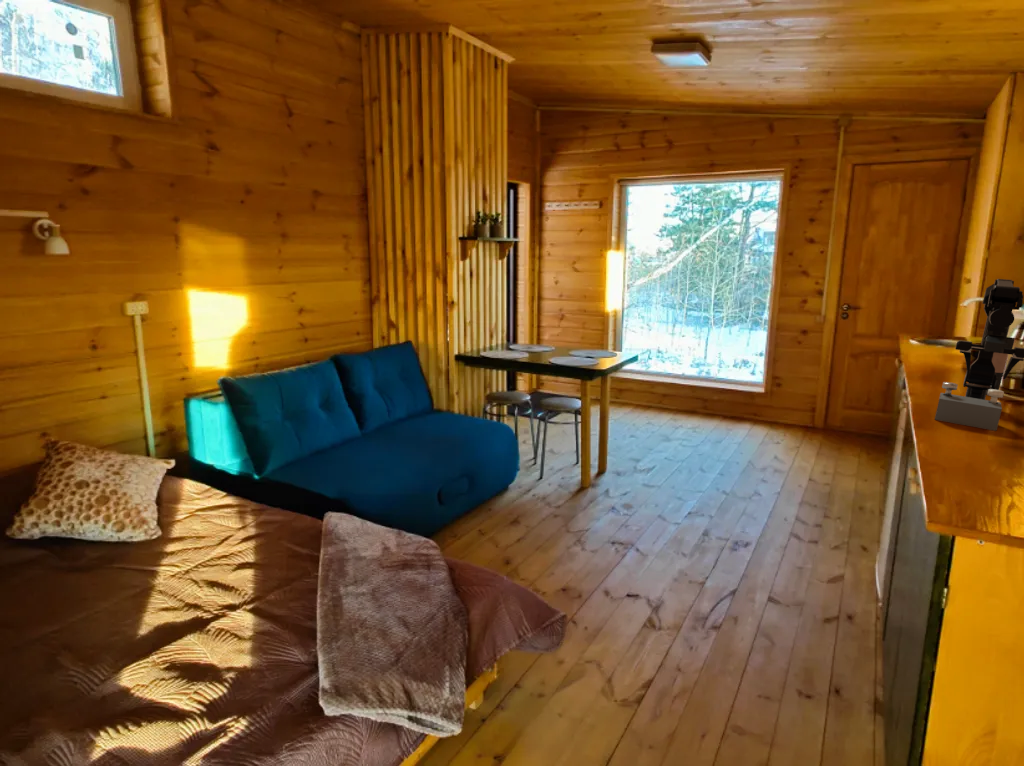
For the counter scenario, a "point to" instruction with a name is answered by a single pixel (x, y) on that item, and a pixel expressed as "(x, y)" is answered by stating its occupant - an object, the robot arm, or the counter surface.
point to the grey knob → (949, 387)
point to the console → (968, 411)
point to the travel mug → (999, 367)
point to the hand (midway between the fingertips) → (985, 376)
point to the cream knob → (995, 395)
